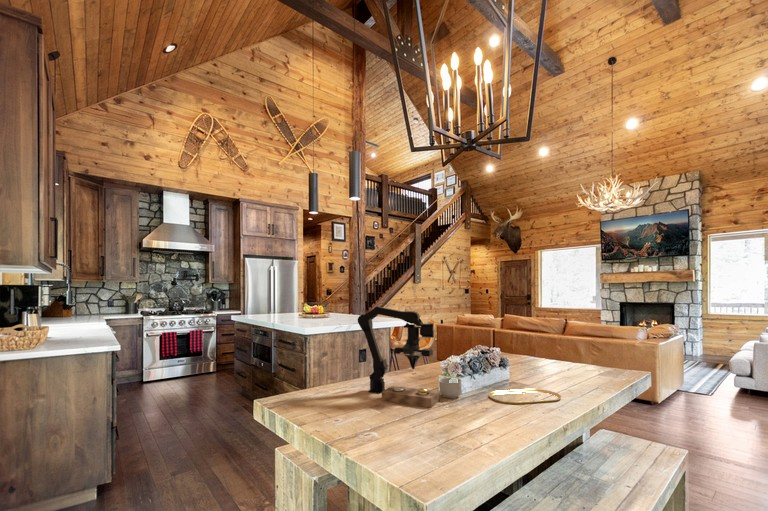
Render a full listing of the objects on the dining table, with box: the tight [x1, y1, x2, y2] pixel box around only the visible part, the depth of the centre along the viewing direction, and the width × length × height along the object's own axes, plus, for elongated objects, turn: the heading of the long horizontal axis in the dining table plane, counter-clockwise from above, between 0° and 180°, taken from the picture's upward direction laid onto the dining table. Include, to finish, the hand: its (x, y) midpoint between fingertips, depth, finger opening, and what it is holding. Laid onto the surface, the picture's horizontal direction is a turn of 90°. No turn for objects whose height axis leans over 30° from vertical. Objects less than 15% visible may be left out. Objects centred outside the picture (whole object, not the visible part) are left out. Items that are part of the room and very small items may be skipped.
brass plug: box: [417, 387, 429, 395], centre depth 175 cm, size 5×5×3 cm
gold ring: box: [488, 388, 562, 405], centre depth 183 cm, size 19×35×2 cm, turn 103°
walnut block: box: [381, 385, 441, 409], centre depth 178 cm, size 24×12×4 cm, turn 64°
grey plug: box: [394, 386, 404, 392], centre depth 180 cm, size 5×5×3 cm
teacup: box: [438, 376, 463, 399], centre depth 186 cm, size 14×11×8 cm
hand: (413, 369), depth 190 cm, fingers closed
